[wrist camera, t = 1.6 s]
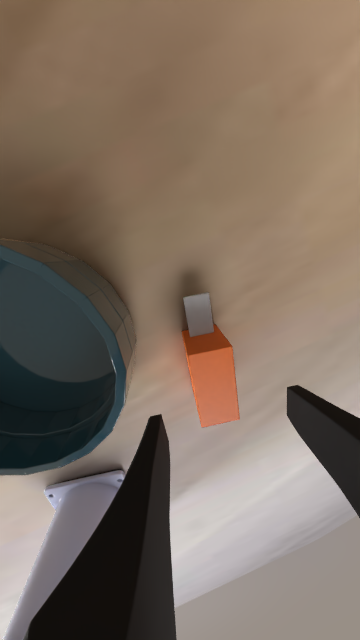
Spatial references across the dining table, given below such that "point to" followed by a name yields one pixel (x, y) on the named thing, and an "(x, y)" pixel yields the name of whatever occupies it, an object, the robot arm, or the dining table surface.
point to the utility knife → (209, 364)
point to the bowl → (58, 358)
